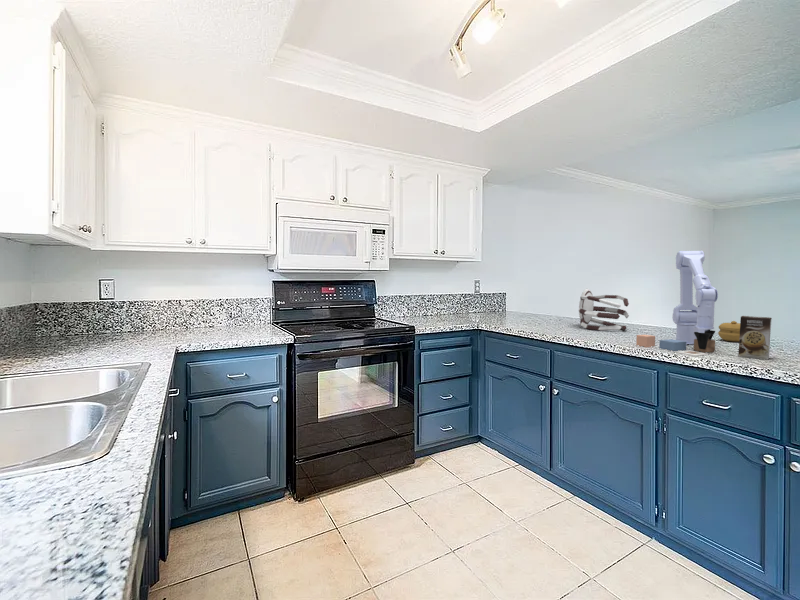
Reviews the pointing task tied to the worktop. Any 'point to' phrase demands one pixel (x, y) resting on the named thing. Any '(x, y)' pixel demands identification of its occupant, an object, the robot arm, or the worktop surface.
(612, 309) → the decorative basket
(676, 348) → the blue block
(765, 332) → the coffee box
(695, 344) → the walnut block
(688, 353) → the card
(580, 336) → the worktop surface
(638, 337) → the peach block
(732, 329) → the pot
